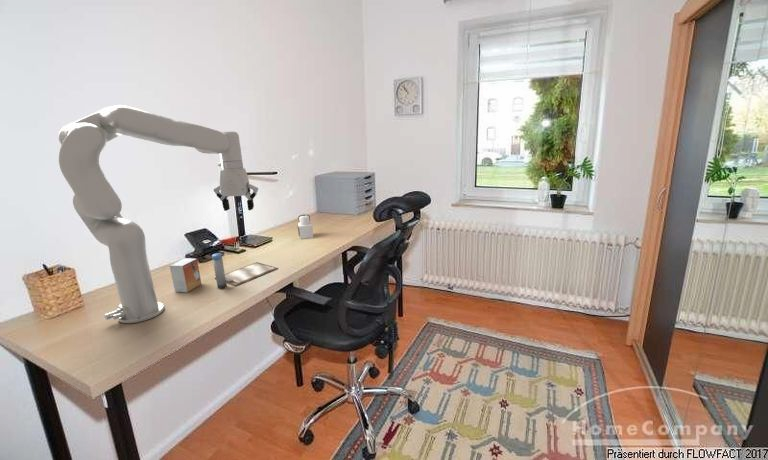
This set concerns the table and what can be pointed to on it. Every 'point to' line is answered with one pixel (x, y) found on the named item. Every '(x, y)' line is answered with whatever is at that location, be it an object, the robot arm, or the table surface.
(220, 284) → the marker
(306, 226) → the medicine bottle
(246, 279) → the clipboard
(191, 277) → the small box
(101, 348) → the table surface
